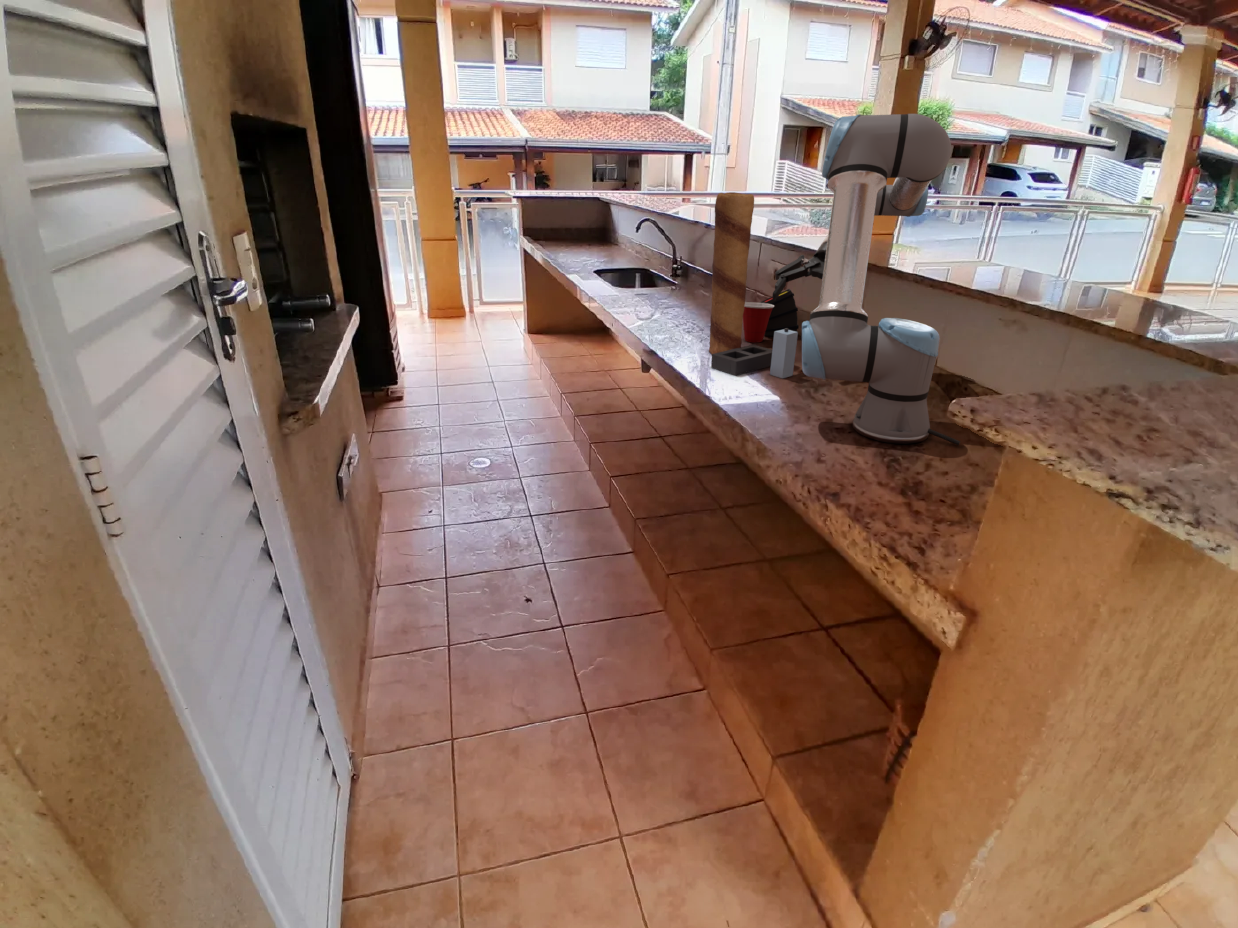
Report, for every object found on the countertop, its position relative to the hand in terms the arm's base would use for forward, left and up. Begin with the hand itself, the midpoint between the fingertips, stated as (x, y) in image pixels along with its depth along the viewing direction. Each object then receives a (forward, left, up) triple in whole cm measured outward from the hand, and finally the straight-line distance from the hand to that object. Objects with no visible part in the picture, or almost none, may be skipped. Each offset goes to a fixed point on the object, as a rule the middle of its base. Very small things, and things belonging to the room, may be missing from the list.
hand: (797, 304), depth 162 cm
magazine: (+30, -29, -19) cm, 46 cm away
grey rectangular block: (0, +4, -19) cm, 19 cm away
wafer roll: (+26, 0, -19) cm, 32 cm away
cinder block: (+12, +6, -19) cm, 23 cm away
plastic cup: (+30, -18, -19) cm, 40 cm away
